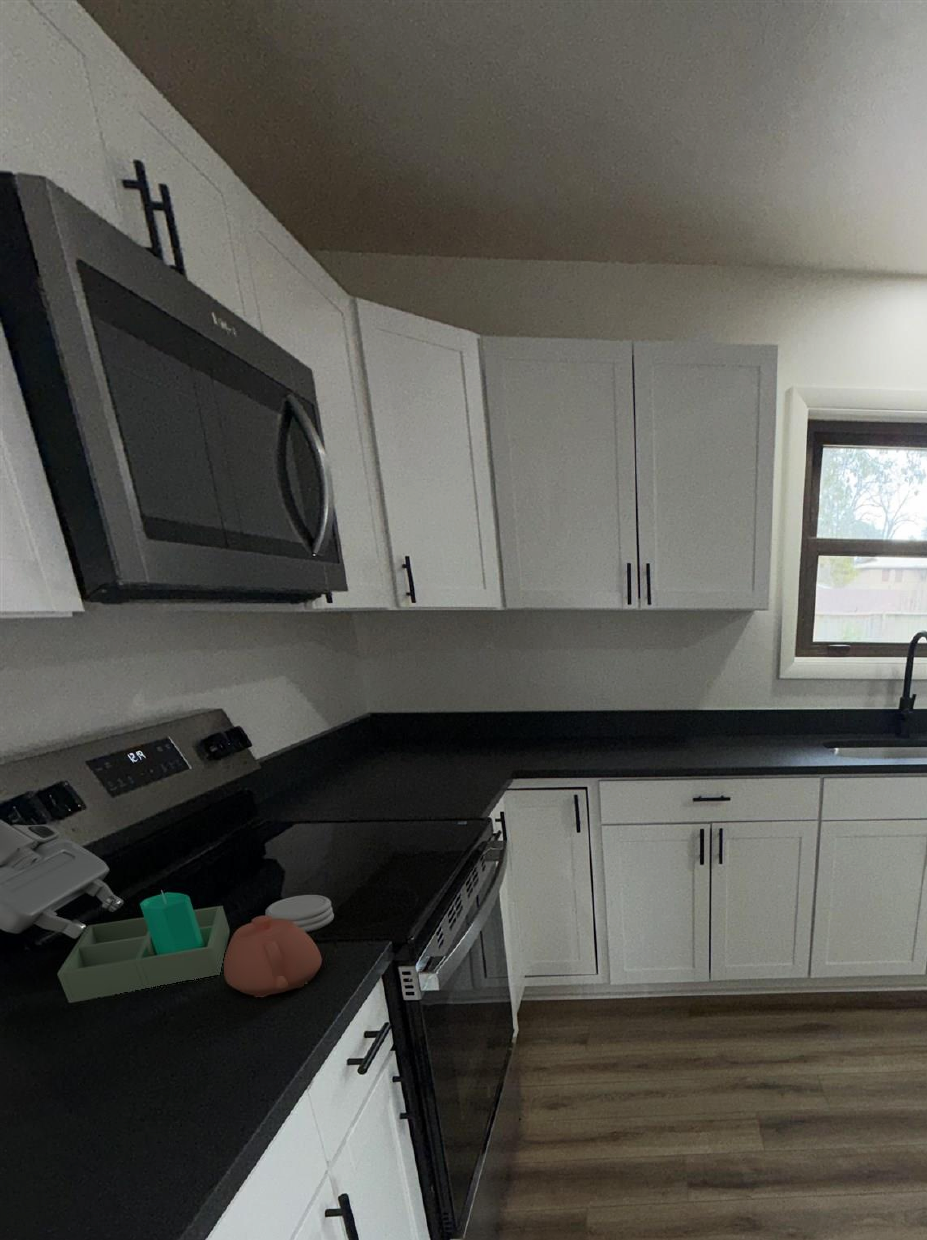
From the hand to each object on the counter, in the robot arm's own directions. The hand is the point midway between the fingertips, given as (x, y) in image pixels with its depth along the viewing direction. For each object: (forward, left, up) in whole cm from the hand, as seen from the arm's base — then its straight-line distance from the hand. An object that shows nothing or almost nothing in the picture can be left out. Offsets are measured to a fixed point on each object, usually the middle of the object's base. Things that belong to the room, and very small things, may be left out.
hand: (101, 919), depth 107 cm
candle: (+9, -3, -8) cm, 12 cm away
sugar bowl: (+21, -15, -9) cm, 27 cm away
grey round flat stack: (+24, +8, -9) cm, 27 cm away
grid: (+4, +1, -9) cm, 10 cm away
